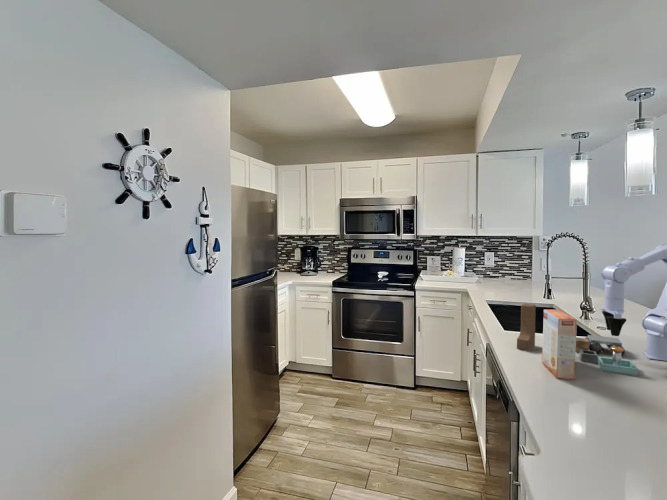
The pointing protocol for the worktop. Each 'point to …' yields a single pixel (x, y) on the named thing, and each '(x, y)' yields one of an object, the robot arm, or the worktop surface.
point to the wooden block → (527, 327)
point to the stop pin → (617, 355)
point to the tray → (625, 368)
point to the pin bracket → (588, 356)
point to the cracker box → (559, 343)
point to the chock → (582, 344)
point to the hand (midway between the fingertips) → (612, 332)
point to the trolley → (609, 341)
